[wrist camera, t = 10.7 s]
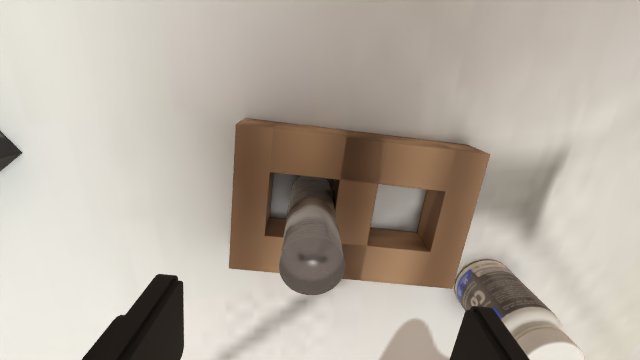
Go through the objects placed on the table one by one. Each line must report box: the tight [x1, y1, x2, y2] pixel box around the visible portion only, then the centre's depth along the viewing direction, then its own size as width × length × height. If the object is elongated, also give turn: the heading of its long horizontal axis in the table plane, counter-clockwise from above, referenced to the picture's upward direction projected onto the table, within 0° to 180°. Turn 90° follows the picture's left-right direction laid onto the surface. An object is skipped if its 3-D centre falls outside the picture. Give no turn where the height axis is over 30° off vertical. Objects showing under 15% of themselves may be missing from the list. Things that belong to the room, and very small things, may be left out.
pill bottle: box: [455, 260, 584, 360], centre depth 23 cm, size 5×5×8 cm
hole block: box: [229, 118, 490, 289], centre depth 23 cm, size 16×10×3 cm, turn 83°
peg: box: [279, 176, 345, 295], centre depth 20 cm, size 3×3×10 cm
